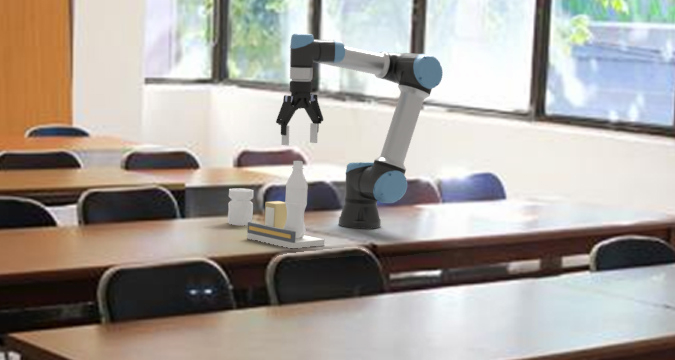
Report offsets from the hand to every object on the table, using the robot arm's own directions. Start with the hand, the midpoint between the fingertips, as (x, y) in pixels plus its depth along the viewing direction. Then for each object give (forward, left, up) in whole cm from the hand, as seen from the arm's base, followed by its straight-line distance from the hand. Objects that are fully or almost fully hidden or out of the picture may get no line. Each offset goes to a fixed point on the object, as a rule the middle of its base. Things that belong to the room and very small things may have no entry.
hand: (299, 144), depth 431 cm
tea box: (+10, +1, -29) cm, 31 cm away
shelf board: (+12, +8, -31) cm, 34 cm away
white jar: (0, -29, -31) cm, 42 cm away
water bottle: (+12, +12, -29) cm, 34 cm away
